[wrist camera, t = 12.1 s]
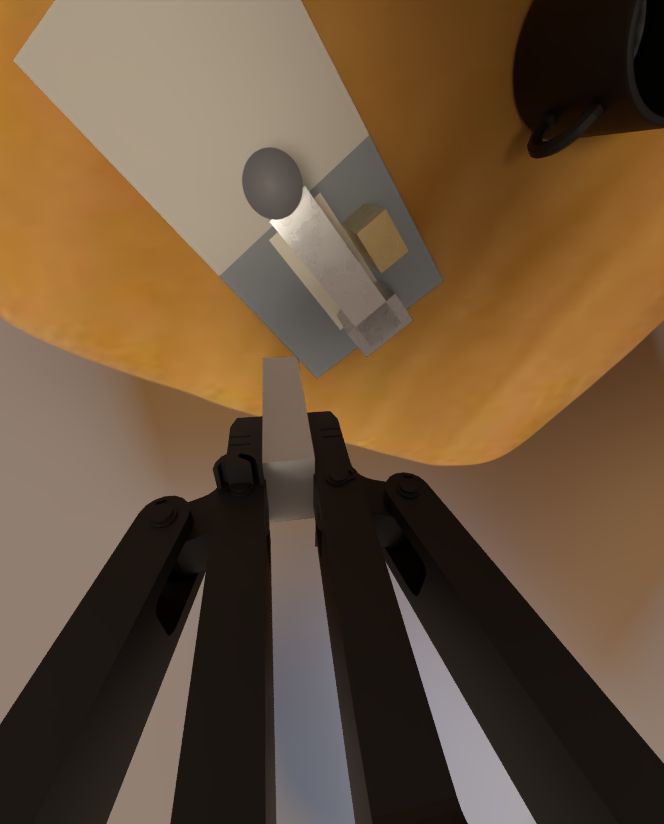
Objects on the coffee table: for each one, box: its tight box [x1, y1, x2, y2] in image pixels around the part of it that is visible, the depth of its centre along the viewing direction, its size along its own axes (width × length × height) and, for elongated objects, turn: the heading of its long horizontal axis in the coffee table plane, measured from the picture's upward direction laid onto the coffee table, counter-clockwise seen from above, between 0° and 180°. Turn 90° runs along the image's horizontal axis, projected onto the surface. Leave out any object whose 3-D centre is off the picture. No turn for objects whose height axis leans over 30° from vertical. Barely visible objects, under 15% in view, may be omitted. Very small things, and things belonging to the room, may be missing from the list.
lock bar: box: [269, 186, 413, 357], centre depth 24 cm, size 11×4×4 cm, turn 39°
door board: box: [13, 0, 444, 378], centre depth 21 cm, size 14×26×7 cm, turn 37°
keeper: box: [341, 203, 409, 273], centre depth 23 cm, size 2×3×5 cm
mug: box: [514, 0, 664, 158], centre depth 20 cm, size 9×12×9 cm
